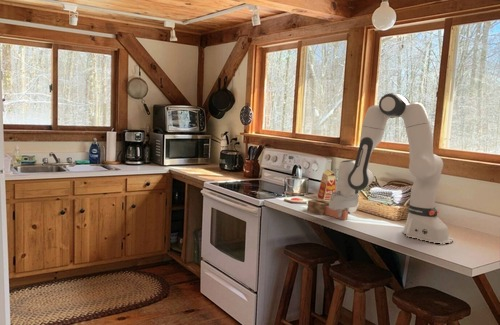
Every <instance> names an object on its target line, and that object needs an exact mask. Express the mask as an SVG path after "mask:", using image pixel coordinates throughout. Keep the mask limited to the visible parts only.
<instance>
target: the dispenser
mask: <svg viewBox="0 0 500 325" xmlns="http://www.w3.org/2000/svg"><path fill="white" fill-rule="evenodd" d="M326 205H327V206H329V201H324V200H320V199H317V198H316V199H309V200H307V210H306V211H307V212H309V213H312V214H315V215H319V216H324V215H325V206H326Z"/></svg>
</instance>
